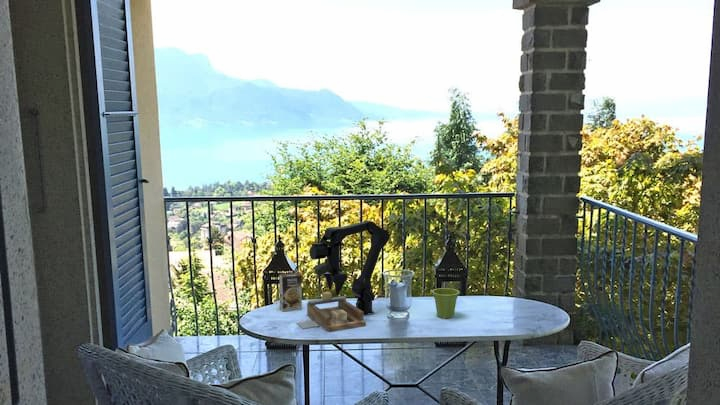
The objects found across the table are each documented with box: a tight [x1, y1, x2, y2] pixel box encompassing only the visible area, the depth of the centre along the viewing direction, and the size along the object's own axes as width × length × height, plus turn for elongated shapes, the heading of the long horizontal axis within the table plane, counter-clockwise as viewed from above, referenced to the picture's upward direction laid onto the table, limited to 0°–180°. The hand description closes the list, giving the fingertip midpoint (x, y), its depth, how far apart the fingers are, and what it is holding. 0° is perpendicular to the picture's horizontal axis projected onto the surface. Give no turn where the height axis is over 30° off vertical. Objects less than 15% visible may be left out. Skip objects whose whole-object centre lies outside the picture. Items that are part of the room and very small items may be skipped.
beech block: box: [331, 310, 348, 324], centre depth 251 cm, size 5×5×5 cm
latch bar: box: [307, 291, 347, 306], centre depth 262 cm, size 17×3×4 cm, turn 116°
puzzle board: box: [306, 300, 367, 333], centre depth 255 cm, size 17×24×6 cm
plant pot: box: [431, 287, 460, 319], centre depth 260 cm, size 12×12×11 cm
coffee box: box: [279, 272, 303, 312], centre depth 271 cm, size 9×6×16 cm
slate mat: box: [296, 320, 321, 330], centre depth 249 cm, size 8×8×1 cm
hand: (333, 292), depth 255 cm, fingers open, 9 cm apart
